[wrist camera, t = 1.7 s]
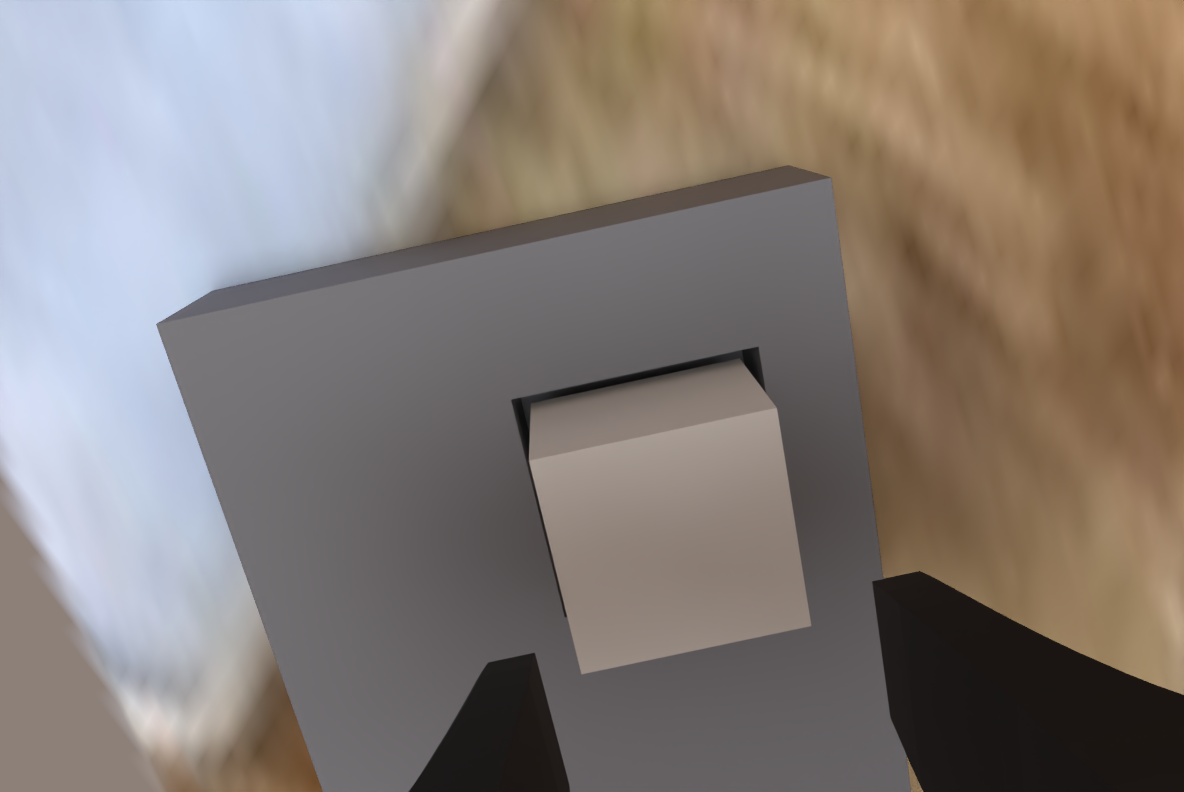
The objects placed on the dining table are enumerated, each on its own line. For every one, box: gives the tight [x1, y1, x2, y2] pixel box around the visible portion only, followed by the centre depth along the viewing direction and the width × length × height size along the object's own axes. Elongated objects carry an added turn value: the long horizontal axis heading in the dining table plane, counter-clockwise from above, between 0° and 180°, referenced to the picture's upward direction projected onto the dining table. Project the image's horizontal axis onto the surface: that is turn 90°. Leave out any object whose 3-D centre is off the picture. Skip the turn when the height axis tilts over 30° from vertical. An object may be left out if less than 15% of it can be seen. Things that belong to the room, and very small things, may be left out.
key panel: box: [156, 166, 911, 792], centre depth 21 cm, size 12×20×3 cm, turn 12°
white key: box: [529, 358, 811, 674], centre depth 17 cm, size 4×4×3 cm
